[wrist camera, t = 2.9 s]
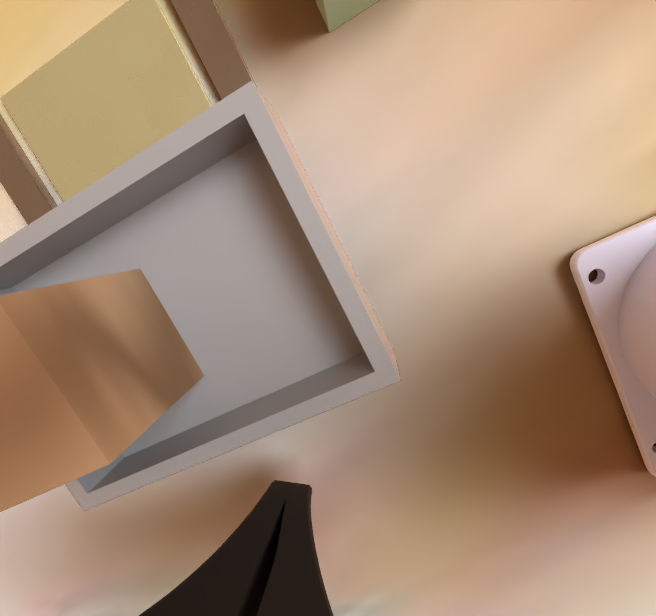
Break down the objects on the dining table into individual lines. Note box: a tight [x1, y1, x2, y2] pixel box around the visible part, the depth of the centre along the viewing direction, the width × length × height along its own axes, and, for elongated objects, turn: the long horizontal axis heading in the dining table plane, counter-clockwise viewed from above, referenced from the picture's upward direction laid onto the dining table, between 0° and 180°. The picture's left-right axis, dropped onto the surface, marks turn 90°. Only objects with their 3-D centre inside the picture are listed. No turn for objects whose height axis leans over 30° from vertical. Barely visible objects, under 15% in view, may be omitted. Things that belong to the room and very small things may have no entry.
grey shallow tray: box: [0, 81, 401, 511], centre depth 11 cm, size 8×11×4 cm
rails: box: [0, 0, 255, 225], centre depth 13 cm, size 15×10×1 cm
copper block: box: [0, 269, 204, 512], centre depth 10 cm, size 4×4×4 cm
